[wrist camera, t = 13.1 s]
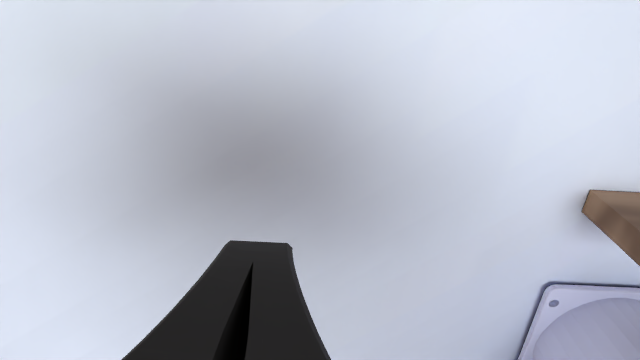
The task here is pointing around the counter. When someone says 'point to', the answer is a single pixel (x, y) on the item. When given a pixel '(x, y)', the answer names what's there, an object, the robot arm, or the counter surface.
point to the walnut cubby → (617, 218)
